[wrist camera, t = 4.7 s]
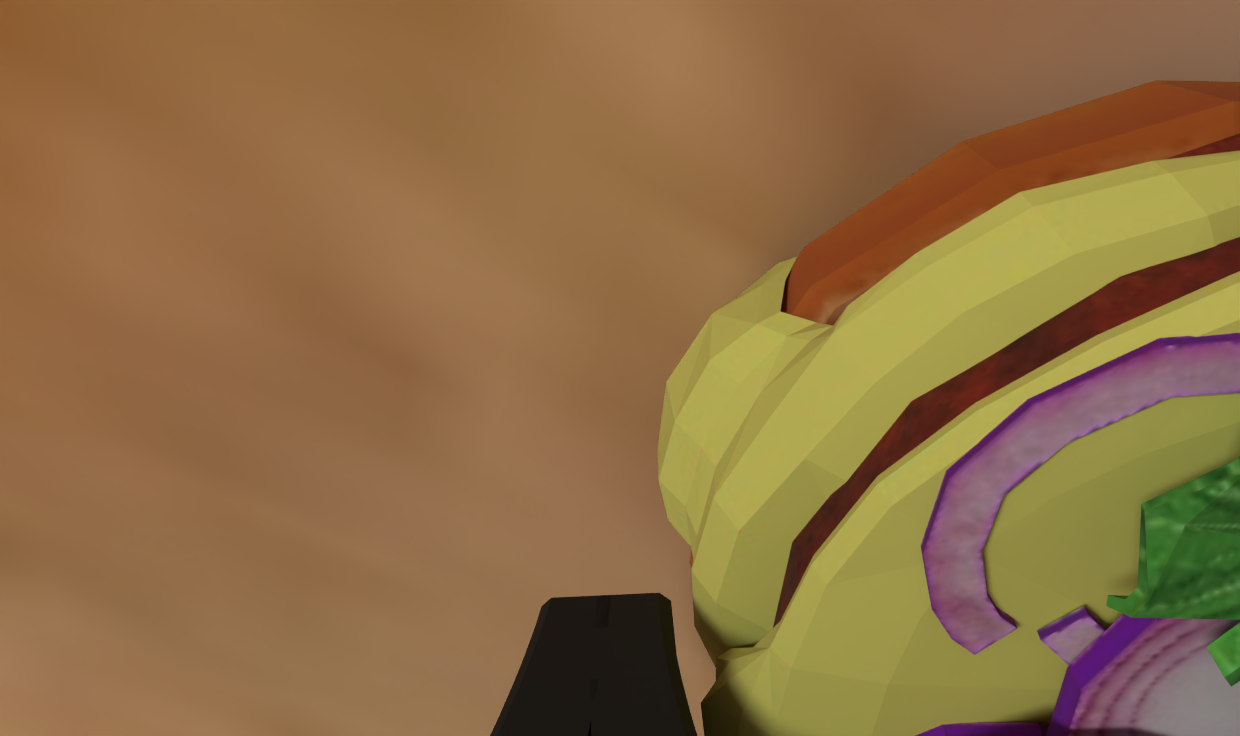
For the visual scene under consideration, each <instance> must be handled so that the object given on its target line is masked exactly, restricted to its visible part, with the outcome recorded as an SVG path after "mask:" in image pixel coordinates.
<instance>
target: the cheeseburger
mask: <svg viewBox="0 0 1240 736" xmlns="http://www.w3.org/2000/svg"><path fill="white" fill-rule="evenodd" d="M658 478H659V484H660V488H661V492H662V496H663V500H664V504H665V509H666V513H667V517H668V520H669V521H670V523H671V524H672V525H673V526H674V527H675V529H676V530H677V531H678V532H679V533H680V534H681V536H682V537H683V538H684V539H685V540H686V542H687V543H688V544H689V545H690V546H691V557H690V564H691V567H692V587H693V605H694V624H695V627H696V629H697V631H698V633H699V635H700V637H701V639H702V641H703V643H704V645H705V647H706V649H707V651H708V653H709V655H710V657H711V659H712V661H713V663H714V665H715V667H716V682H715V684H714V685H713V686H712V688H711V689H710V691H709V692H708V694H707V695H706V696H705V698H704V699H703V701H702V702H701V710H702V718H703V727H704V735H705V736H1240V82H1208V81H1153V82H1150V83H1147V84H1143V85H1140V86H1137V87H1134V88H1131V89H1127V90H1124V91H1121V92H1118V93H1115V94H1112V95H1108V96H1105V97H1102V98H1099V99H1096V100H1093V101H1089V102H1086V103H1083V104H1080V105H1077V106H1073V107H1070V108H1067V109H1064V110H1061V111H1058V112H1054V113H1051V114H1048V115H1045V116H1042V117H1039V118H1035V119H1032V120H1029V121H1026V122H1023V123H1019V124H1016V125H1013V126H1010V127H1007V128H1004V129H1000V130H997V131H994V132H991V133H988V134H985V135H981V136H978V137H975V138H972V139H969V140H966V141H962V142H960V143H959V144H957V145H956V146H954V147H953V148H952V149H950V150H949V151H947V152H946V153H944V154H943V155H941V156H940V157H938V158H937V159H935V160H934V161H932V162H931V163H929V164H928V165H926V166H925V167H923V168H922V169H920V170H919V171H917V172H916V173H914V174H913V175H911V176H910V177H908V178H907V179H905V180H904V181H902V182H901V183H899V184H898V185H896V186H895V187H893V188H892V189H890V190H889V191H887V192H886V193H884V194H883V195H881V196H880V197H878V198H877V199H875V200H874V201H872V202H871V203H869V204H868V205H866V206H865V207H863V208H862V209H860V210H859V211H857V212H856V213H854V214H853V215H851V216H850V217H848V218H847V219H845V220H844V221H842V222H841V223H839V224H838V225H836V226H835V227H833V228H832V229H830V230H829V231H827V232H826V233H825V234H823V235H822V236H820V237H819V238H817V239H816V240H814V241H813V242H811V243H810V244H808V245H807V246H805V247H804V249H803V250H802V252H801V253H800V255H799V256H798V258H797V257H793V258H791V259H789V260H786V261H783V262H780V263H777V264H776V265H775V266H774V267H773V268H771V269H770V270H769V271H768V272H767V273H765V274H764V275H763V276H762V277H761V278H759V279H758V280H757V281H756V282H755V283H753V284H752V285H751V286H750V287H749V288H747V289H746V290H745V291H744V292H743V293H741V294H740V295H739V296H738V297H736V298H735V299H733V300H732V301H730V302H729V303H727V304H726V305H724V306H723V307H721V308H720V309H718V310H717V311H715V312H714V313H712V315H711V316H710V318H709V319H708V321H707V322H706V324H705V325H704V327H703V328H702V330H701V331H700V333H699V334H698V336H697V337H696V339H695V340H694V342H693V343H692V345H691V346H690V348H689V349H688V350H687V352H686V353H685V355H684V356H683V358H682V359H681V361H680V362H679V364H678V365H677V367H676V368H675V370H674V371H673V373H672V374H671V376H670V377H669V379H668V380H667V382H666V389H665V397H664V404H663V412H662V419H661V427H660V434H659V442H658Z"/></svg>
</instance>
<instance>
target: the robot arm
mask: <svg viewBox="0 0 1240 736" xmlns="http://www.w3.org/2000/svg"><path fill="white" fill-rule="evenodd" d="M490 736H697V733H696V730H695V727H694V724H693V720H692V717H691V713H690V710H689V706H688V702H687V698H686V694H685V690H684V687H683V683H682V679H681V674H680V670H679V665H678V660H677V656H676V646H675V637H674V627H673V617H672V607H671V601H670V600H669V599H667V598H666V597H664V596H663V595H661V594H660V593H646V594H624V595H603V596H581V597H560V598H551V599H550V600H548V601H547V602H546V603H545V604H544V605H543V606H542V607H541V610H540V613H539V616H538V620H537V623H536V626H535V629H534V632H533V635H532V637H531V640H530V643H529V645H528V648H527V651H526V654H525V656H524V659H523V661H522V664H521V666H520V669H519V671H518V674H517V676H516V679H515V681H514V684H513V686H512V688H511V690H510V693H509V695H508V697H507V700H506V702H505V704H504V707H503V709H502V711H501V713H500V716H499V718H498V720H497V722H496V725H495V727H494V729H493V731H492V733H491V735H490Z"/></svg>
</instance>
